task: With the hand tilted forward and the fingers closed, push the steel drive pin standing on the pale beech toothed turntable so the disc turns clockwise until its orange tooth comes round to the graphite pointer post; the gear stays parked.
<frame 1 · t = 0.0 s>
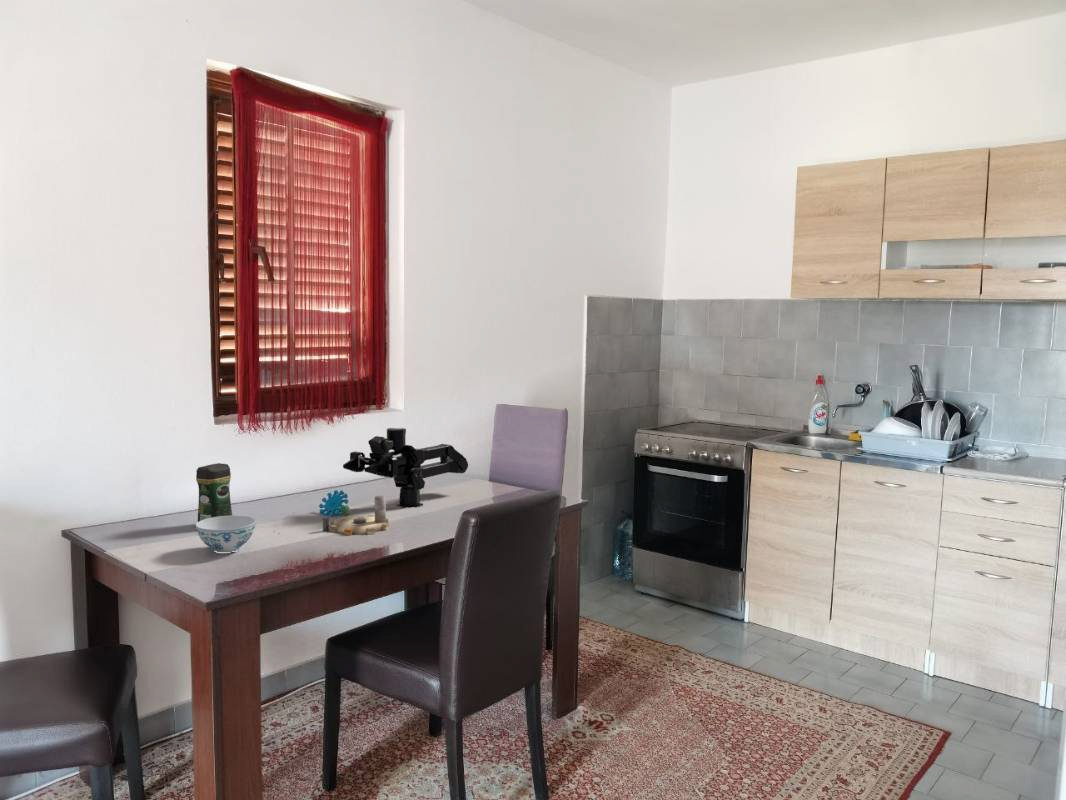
hand: (353, 468, 249), 17 cm above the table, tool horizontal, fingers open, 9 cm apart
coffee jar: (214, 526, 243), on the table
bearing plate: (359, 529, 241), on the table
gear: (335, 516, 258), on the table
turntable: (359, 512, 241), point 5 cm above the table, hinge at 0.0°
chinaware: (226, 551, 218), on the table
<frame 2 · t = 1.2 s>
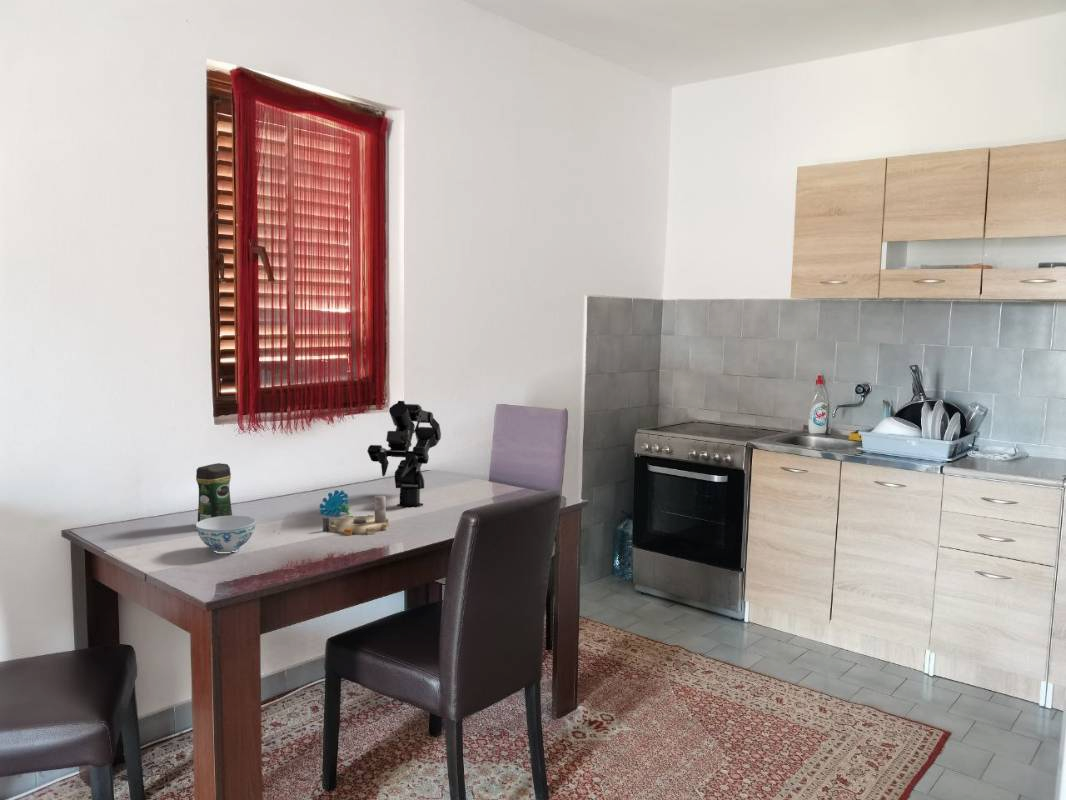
hand: (392, 476, 253), 14 cm above the table, tool tilted 45°, fingers open, 6 cm apart
nothing on the table moved.
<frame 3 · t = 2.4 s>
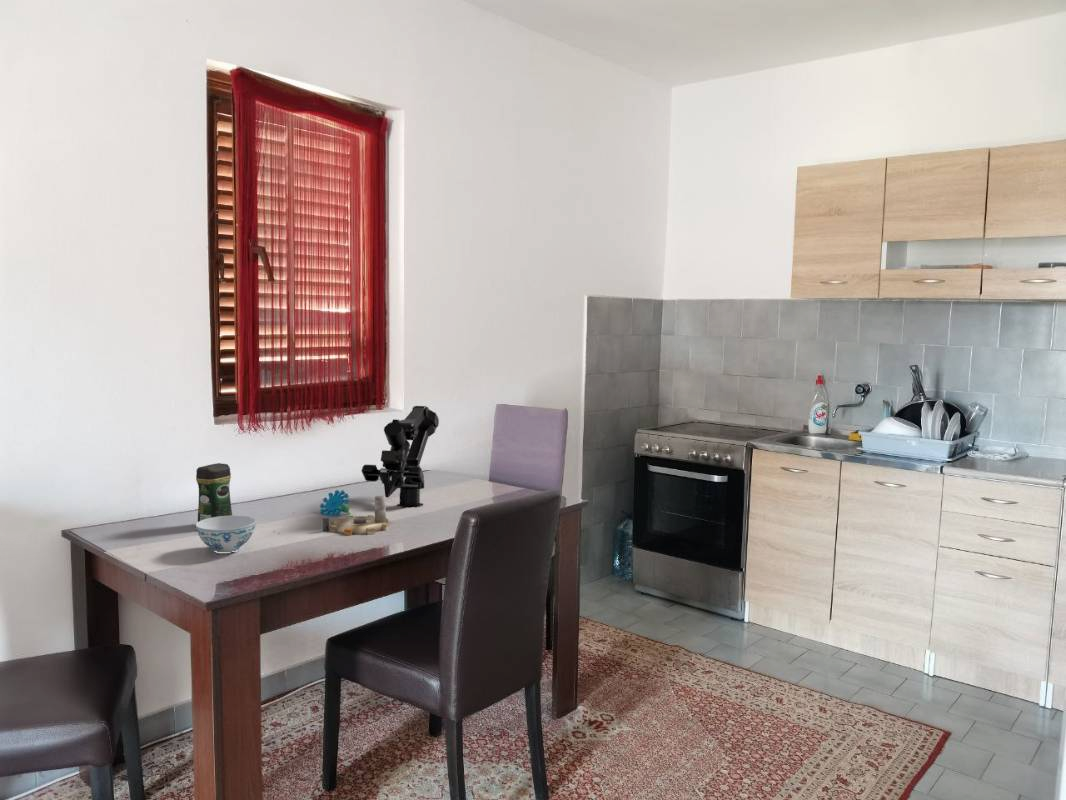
hand: (386, 496, 248), 8 cm above the table, tool tilted 45°, fingers closed
nothing on the table moved.
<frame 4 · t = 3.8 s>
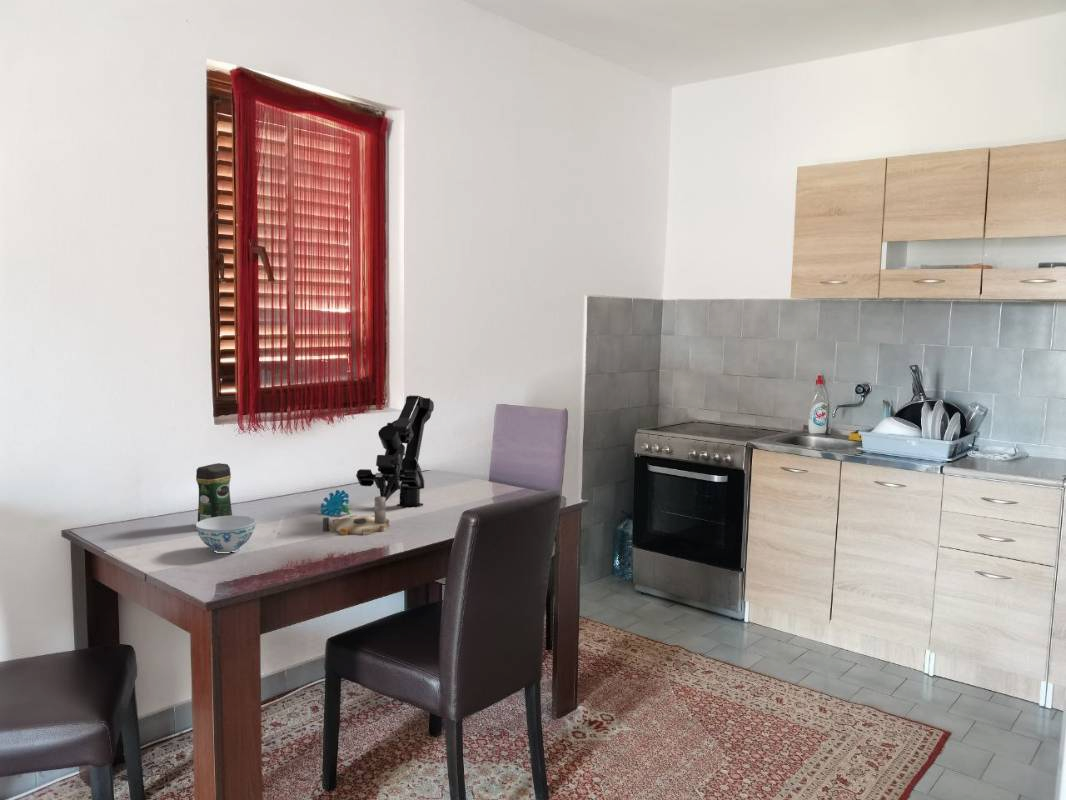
hand: (382, 502, 243), 8 cm above the table, tool tilted 45°, fingers closed, pressing on turntable
turntable: (359, 512, 241), point 5 cm above the table, hinge at 8.9°, touching gripper
everything else where it was.
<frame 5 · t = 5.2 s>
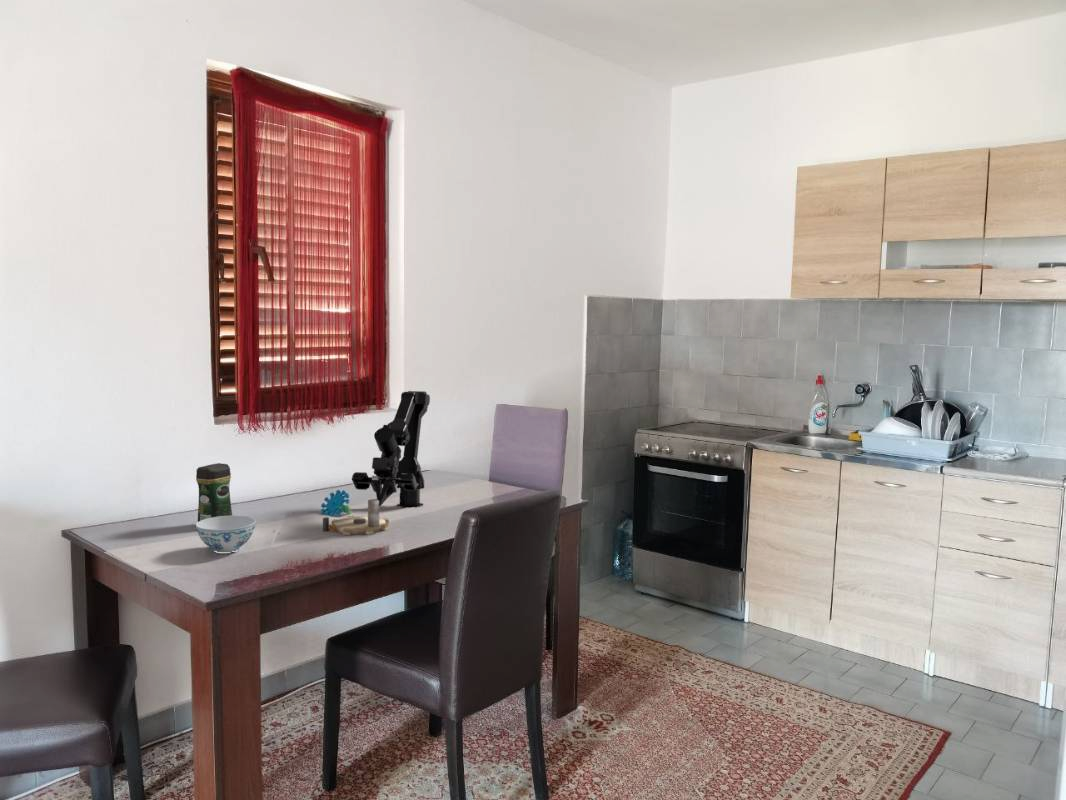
hand: (378, 505, 238), 8 cm above the table, tool tilted 45°, fingers closed
turntable: (359, 512, 241), point 5 cm above the table, hinge at 48.0°, touching gripper
everything else where it was.
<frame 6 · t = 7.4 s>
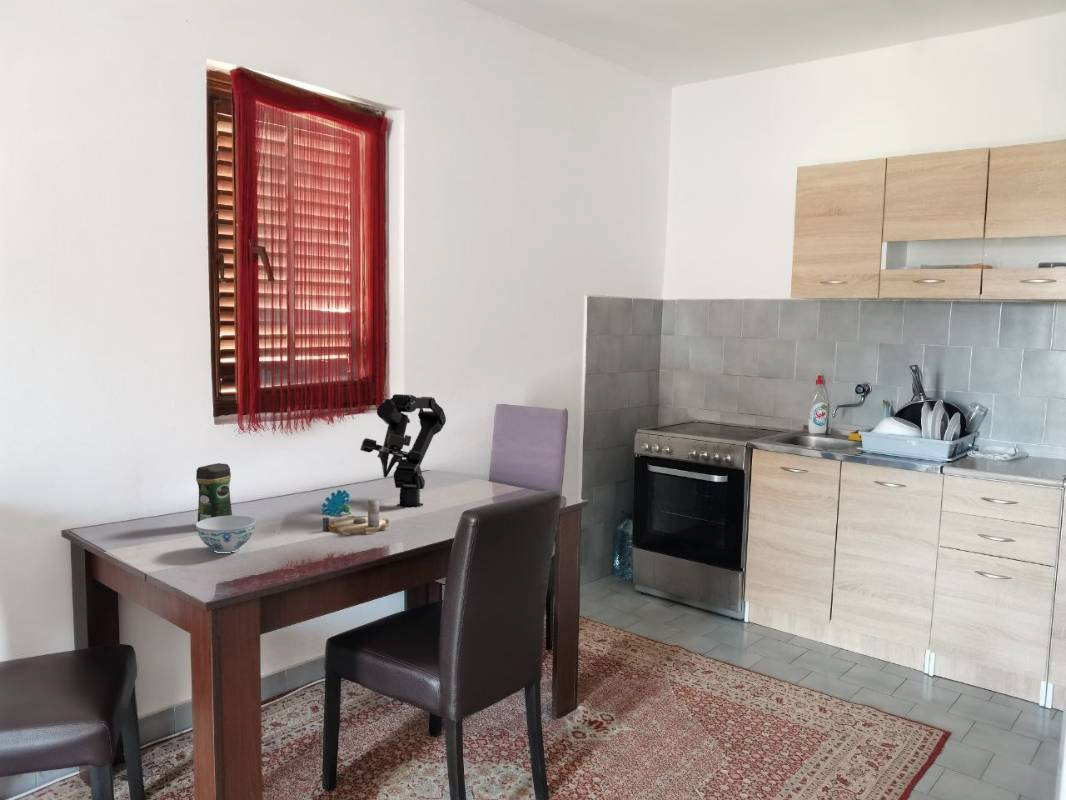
hand: (385, 477, 254), 13 cm above the table, tool tilted 30°, fingers closed
turntable: (359, 512, 241), point 5 cm above the table, hinge at 48.1°
everything else where it was.
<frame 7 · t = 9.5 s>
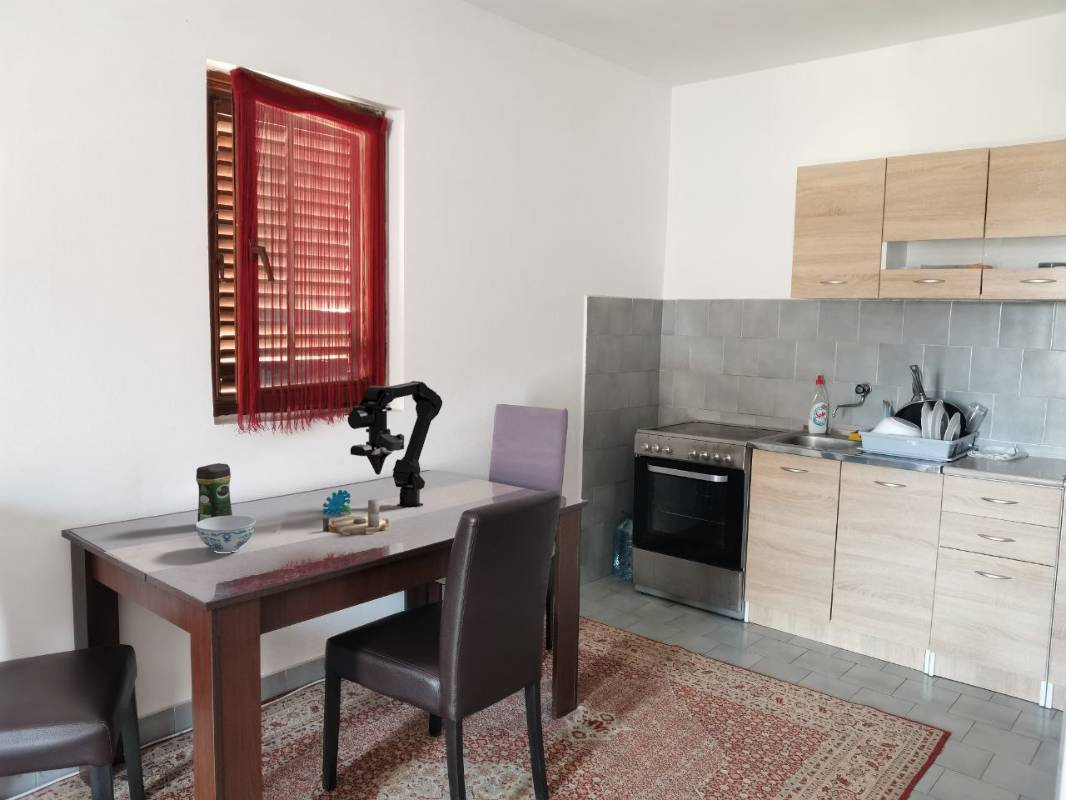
hand: (378, 474, 258), 13 cm above the table, tool pointing down, fingers closed
at the end: turntable at +48° (first picture: +0°) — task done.
